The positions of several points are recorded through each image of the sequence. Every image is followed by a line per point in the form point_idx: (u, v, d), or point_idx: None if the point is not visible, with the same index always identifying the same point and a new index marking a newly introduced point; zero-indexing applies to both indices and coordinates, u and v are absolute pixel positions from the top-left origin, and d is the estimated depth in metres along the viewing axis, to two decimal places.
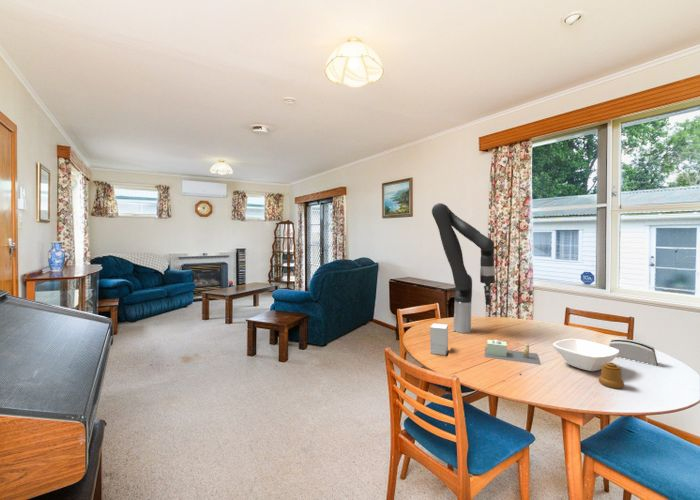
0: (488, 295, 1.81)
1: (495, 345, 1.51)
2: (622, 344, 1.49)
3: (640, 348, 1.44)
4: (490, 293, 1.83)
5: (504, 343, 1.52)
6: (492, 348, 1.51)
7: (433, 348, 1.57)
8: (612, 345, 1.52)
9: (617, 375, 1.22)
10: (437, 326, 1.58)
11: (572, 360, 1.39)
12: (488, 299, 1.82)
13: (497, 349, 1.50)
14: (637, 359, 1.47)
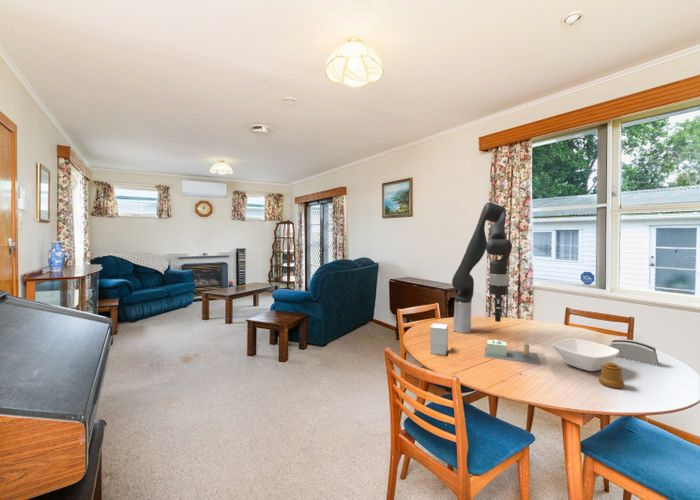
0: (499, 310, 1.46)
1: (495, 345, 1.51)
2: (623, 344, 1.49)
3: (642, 348, 1.44)
4: (501, 307, 1.48)
5: (504, 343, 1.52)
6: (492, 348, 1.51)
7: (433, 348, 1.57)
8: (613, 345, 1.52)
9: (617, 375, 1.22)
10: (437, 326, 1.58)
11: (572, 360, 1.39)
12: (499, 315, 1.47)
13: (497, 349, 1.50)
14: (638, 359, 1.47)
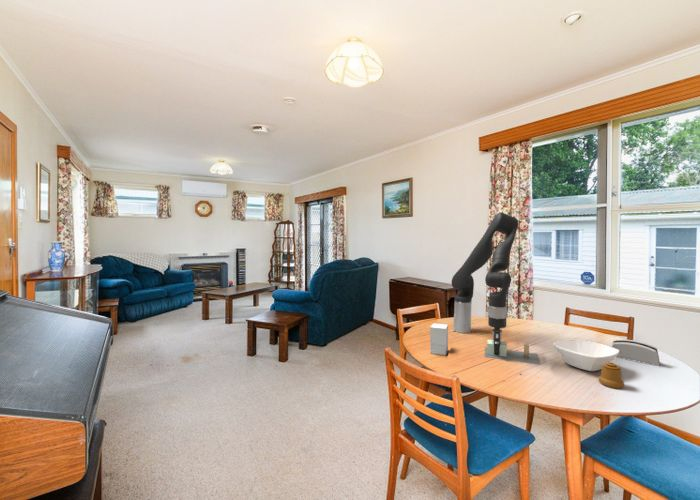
0: (498, 344, 1.48)
1: None
2: (625, 345, 1.48)
3: (643, 349, 1.44)
4: (500, 341, 1.49)
5: (504, 343, 1.52)
6: (492, 348, 1.51)
7: (433, 348, 1.57)
8: (615, 346, 1.51)
9: (617, 375, 1.22)
10: (437, 326, 1.58)
11: (572, 360, 1.39)
12: (497, 348, 1.49)
13: None
14: (640, 360, 1.47)
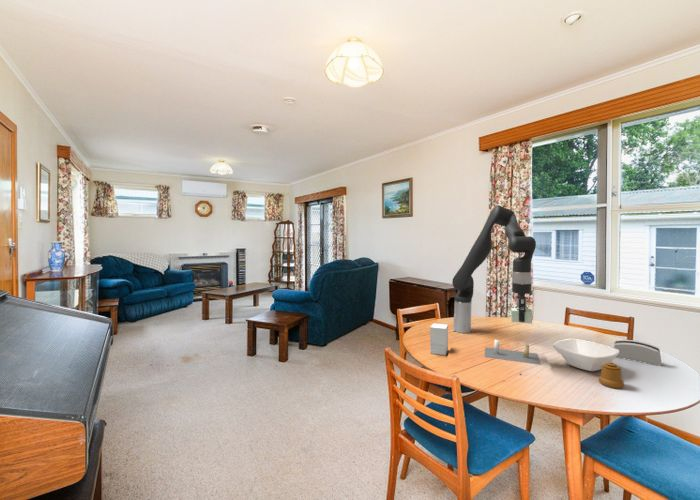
0: (523, 310, 1.43)
1: None
2: (628, 345, 1.48)
3: (646, 349, 1.44)
4: None
5: (529, 310, 1.47)
6: (517, 315, 1.46)
7: (433, 348, 1.57)
8: (617, 346, 1.50)
9: (617, 375, 1.22)
10: (437, 326, 1.58)
11: (572, 360, 1.39)
12: (523, 315, 1.44)
13: None
14: (642, 360, 1.46)
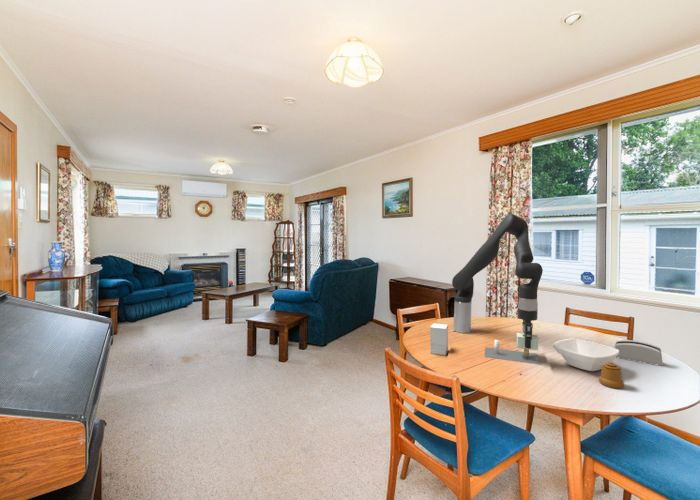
0: (529, 337, 1.43)
1: None
2: (629, 345, 1.47)
3: (648, 349, 1.43)
4: None
5: (535, 336, 1.47)
6: (523, 341, 1.46)
7: (433, 348, 1.57)
8: (618, 347, 1.50)
9: (617, 375, 1.22)
10: (437, 326, 1.58)
11: (572, 360, 1.39)
12: (529, 341, 1.44)
13: None
14: (643, 360, 1.46)
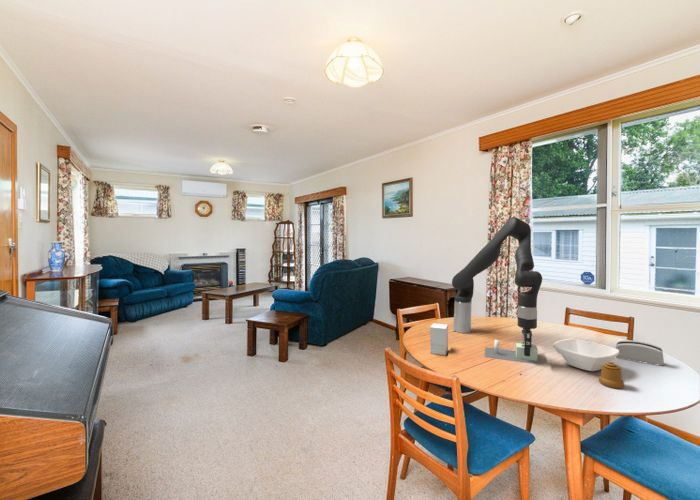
0: (529, 345, 1.42)
1: None
2: (631, 346, 1.47)
3: (649, 349, 1.43)
4: (531, 341, 1.44)
5: (534, 346, 1.47)
6: (522, 352, 1.46)
7: (433, 348, 1.57)
8: (620, 347, 1.49)
9: (617, 375, 1.22)
10: (437, 326, 1.58)
11: (572, 360, 1.39)
12: (528, 349, 1.43)
13: None
14: (645, 360, 1.46)
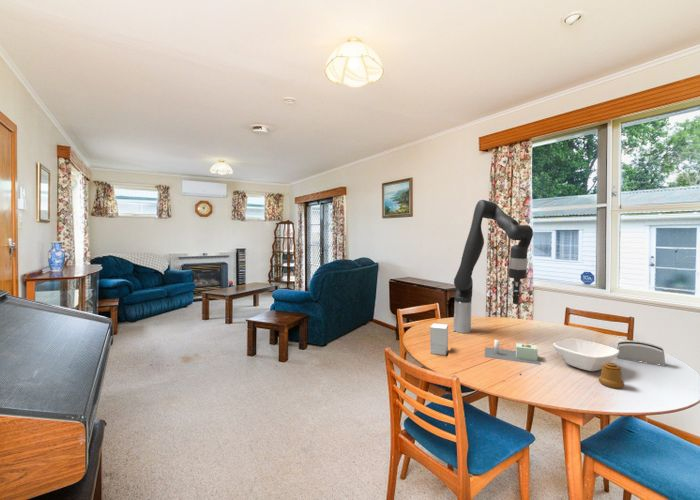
0: (517, 292, 1.52)
1: (525, 349, 1.46)
2: (632, 346, 1.46)
3: (651, 349, 1.43)
4: (519, 290, 1.54)
5: (534, 346, 1.47)
6: (522, 352, 1.46)
7: (433, 348, 1.57)
8: (621, 347, 1.49)
9: (617, 375, 1.22)
10: (437, 326, 1.58)
11: (572, 360, 1.39)
12: (516, 297, 1.53)
13: (527, 352, 1.46)
14: (646, 360, 1.46)
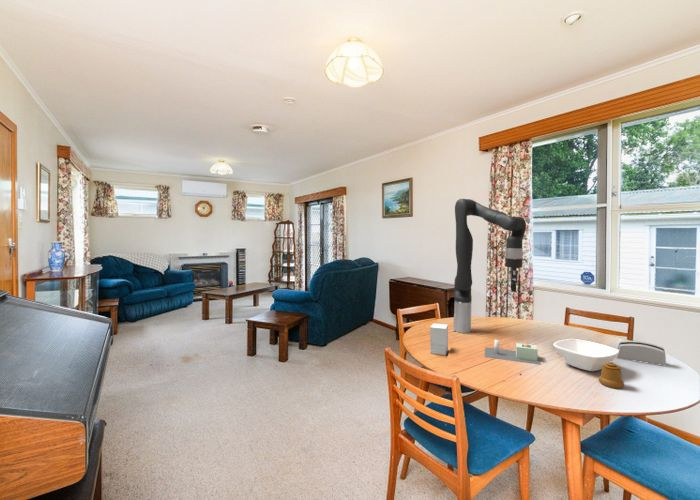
0: (515, 280, 1.59)
1: (525, 349, 1.46)
2: (633, 346, 1.46)
3: (652, 349, 1.43)
4: (517, 278, 1.61)
5: (534, 346, 1.47)
6: (522, 352, 1.46)
7: (433, 348, 1.57)
8: (622, 348, 1.49)
9: (617, 375, 1.22)
10: (437, 326, 1.58)
11: (572, 360, 1.39)
12: (514, 285, 1.61)
13: (527, 352, 1.46)
14: (647, 361, 1.45)
